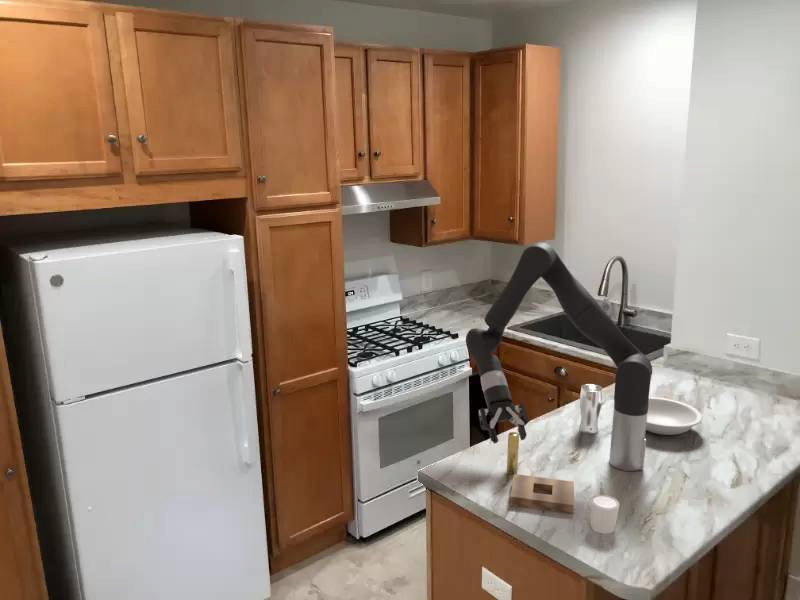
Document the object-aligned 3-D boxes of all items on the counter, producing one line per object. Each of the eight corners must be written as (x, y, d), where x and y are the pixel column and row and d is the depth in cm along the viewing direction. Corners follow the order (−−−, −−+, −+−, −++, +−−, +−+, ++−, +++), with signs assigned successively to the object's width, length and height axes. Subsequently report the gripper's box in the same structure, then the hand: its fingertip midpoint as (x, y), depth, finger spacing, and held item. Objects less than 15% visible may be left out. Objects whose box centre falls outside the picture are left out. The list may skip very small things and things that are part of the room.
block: (573, 489, 173) (573, 481, 172) (573, 513, 162) (573, 505, 161) (513, 482, 177) (514, 473, 176) (509, 505, 166) (510, 496, 165)
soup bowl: (685, 415, 221) (687, 398, 219) (711, 447, 197) (714, 428, 196) (614, 413, 223) (616, 395, 221) (632, 444, 200) (634, 424, 198)
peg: (517, 471, 183) (519, 432, 180) (516, 476, 180) (518, 437, 177) (507, 469, 184) (508, 431, 181) (506, 474, 181) (507, 436, 178)
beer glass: (576, 432, 207) (579, 389, 204) (579, 424, 214) (582, 382, 210) (598, 436, 205) (602, 392, 201) (600, 427, 211) (604, 385, 208)
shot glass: (584, 519, 159) (586, 494, 158) (610, 518, 160) (612, 493, 158) (594, 536, 153) (596, 510, 151) (622, 534, 153) (624, 508, 152)
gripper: (476, 386, 185) (490, 439, 177) (521, 381, 189) (537, 433, 181) (469, 396, 191) (482, 448, 183) (513, 391, 195) (528, 442, 187)
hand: (509, 440), depth 182 cm, fingers open, 8 cm apart
